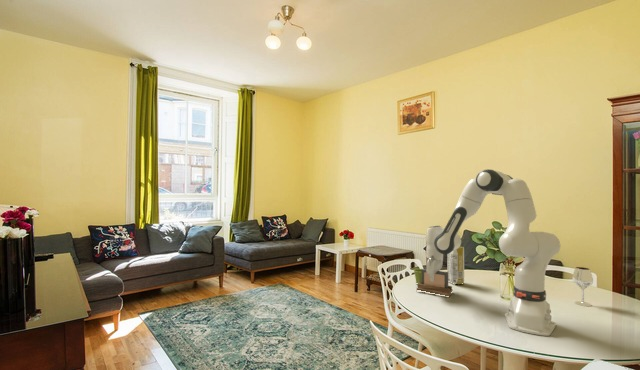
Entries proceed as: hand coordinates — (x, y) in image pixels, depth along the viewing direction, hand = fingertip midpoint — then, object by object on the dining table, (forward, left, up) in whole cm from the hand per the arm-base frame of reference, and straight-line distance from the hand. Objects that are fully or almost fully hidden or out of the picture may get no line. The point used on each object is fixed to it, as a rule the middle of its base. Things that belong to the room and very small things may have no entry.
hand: (434, 279), depth 181 cm
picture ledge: (0, 0, -7) cm, 7 cm away
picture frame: (0, 0, -5) cm, 5 cm away
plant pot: (+11, +11, -8) cm, 17 cm away
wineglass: (+24, -67, -8) cm, 72 cm away
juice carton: (+26, -6, -8) cm, 28 cm away
